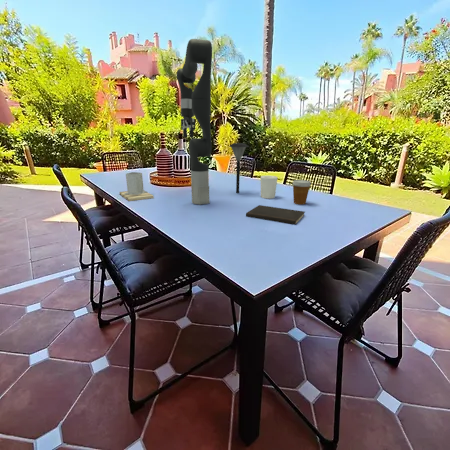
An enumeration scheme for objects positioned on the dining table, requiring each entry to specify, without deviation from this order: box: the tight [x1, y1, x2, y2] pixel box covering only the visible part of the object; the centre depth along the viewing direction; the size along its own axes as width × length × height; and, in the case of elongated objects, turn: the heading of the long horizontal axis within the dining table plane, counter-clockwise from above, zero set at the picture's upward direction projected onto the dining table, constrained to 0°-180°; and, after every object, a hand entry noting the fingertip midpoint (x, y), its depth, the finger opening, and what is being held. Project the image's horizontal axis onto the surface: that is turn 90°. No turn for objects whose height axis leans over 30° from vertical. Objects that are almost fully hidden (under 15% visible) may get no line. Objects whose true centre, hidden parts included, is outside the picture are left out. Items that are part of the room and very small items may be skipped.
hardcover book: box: [245, 204, 306, 226], centre depth 125 cm, size 16×23×2 cm
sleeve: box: [125, 171, 148, 196], centre depth 157 cm, size 9×9×12 cm
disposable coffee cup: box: [292, 179, 312, 206], centre depth 146 cm, size 10×10×12 cm
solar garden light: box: [228, 142, 250, 194], centre depth 165 cm, size 12×12×30 cm
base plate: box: [119, 190, 155, 202], centre depth 159 cm, size 20×14×6 cm
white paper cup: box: [260, 175, 278, 200], centre depth 159 cm, size 10×10×12 cm
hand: (188, 137), depth 162 cm, fingers open, 8 cm apart
